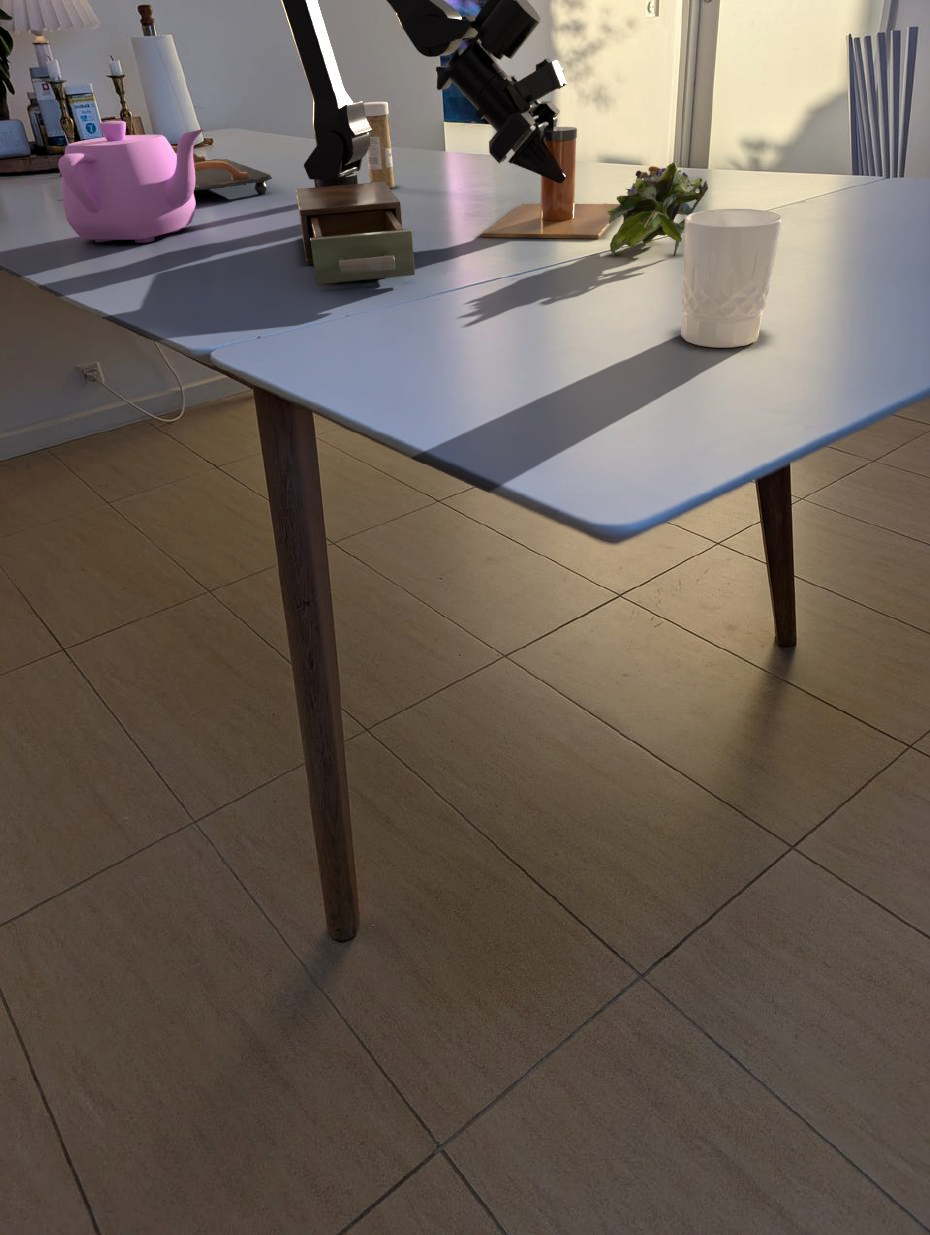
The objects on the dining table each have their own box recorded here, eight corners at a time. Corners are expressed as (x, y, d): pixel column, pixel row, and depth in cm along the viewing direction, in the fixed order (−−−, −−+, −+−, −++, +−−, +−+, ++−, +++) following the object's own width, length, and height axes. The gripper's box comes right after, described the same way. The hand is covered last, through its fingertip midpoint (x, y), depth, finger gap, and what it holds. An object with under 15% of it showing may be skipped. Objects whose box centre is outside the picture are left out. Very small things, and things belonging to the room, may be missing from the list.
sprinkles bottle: (399, 187, 159) (392, 101, 152) (377, 191, 157) (369, 104, 150) (387, 185, 162) (379, 100, 155) (365, 188, 160) (356, 103, 153)
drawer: (420, 284, 97) (416, 238, 95) (318, 293, 96) (312, 247, 93) (397, 246, 114) (394, 206, 112) (310, 254, 113) (305, 214, 110)
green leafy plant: (643, 287, 115) (684, 198, 114) (695, 288, 106) (741, 191, 104) (578, 244, 110) (620, 149, 108) (627, 241, 100) (675, 137, 99)
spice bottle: (549, 222, 124) (550, 132, 118) (533, 217, 128) (533, 129, 121) (581, 218, 125) (583, 128, 119) (564, 213, 129) (566, 125, 123)
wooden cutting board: (482, 237, 120) (482, 233, 120) (522, 207, 138) (522, 203, 137) (598, 238, 116) (599, 234, 116) (625, 207, 133) (625, 203, 133)
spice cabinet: (404, 256, 113) (400, 201, 109) (307, 265, 111) (299, 210, 108) (389, 230, 127) (384, 181, 124) (302, 238, 126) (295, 188, 122)
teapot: (37, 252, 126) (1, 133, 118) (126, 223, 142) (100, 116, 134) (175, 256, 120) (148, 129, 111) (251, 224, 136) (232, 112, 128)
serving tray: (281, 195, 159) (275, 156, 155) (151, 212, 150) (142, 171, 147) (225, 172, 188) (219, 139, 184) (113, 185, 179) (104, 151, 176)
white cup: (664, 327, 83) (673, 212, 77) (747, 321, 83) (761, 206, 78) (689, 354, 76) (701, 229, 71) (778, 347, 77) (797, 223, 71)
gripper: (510, 39, 108) (597, 139, 111) (545, 34, 123) (621, 122, 126) (453, 114, 115) (536, 207, 118) (492, 101, 129) (565, 184, 132)
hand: (567, 177), depth 123 cm, fingers closed on spice bottle, 5 cm apart
